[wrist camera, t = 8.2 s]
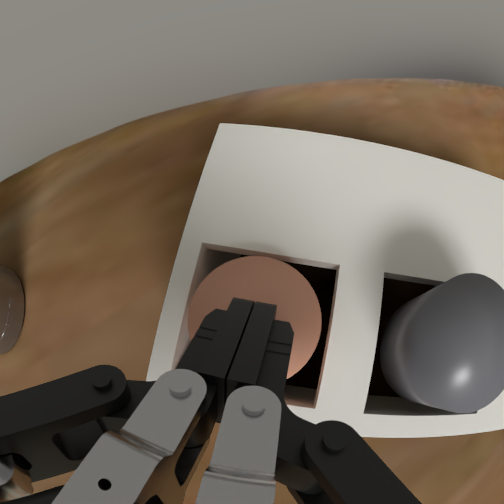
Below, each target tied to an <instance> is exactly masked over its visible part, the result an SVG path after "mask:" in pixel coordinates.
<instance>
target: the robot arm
mask: <svg viewBox="0 0 504 504" xmlns="http://www.w3.org/2000/svg"><path fill="white" fill-rule="evenodd" d="M276 311H277V305H275V304H269V303H263V302H258V301H256V302H255V301H252V300H246V299H241V298H235V297H233V299H232V301H231V303H230V305H229V307H228V309H227V311H226V310H221V309H214V310H213V311H212V312H210V313H209V314H207V315H206V316H205V317H204V319H203V321H202V323H201V324H200V326H199V329H198V330H197V331H196V333H195V336H194V337H193V339H192V340H191V342H190V344H189V346H188V347H187V349H186V351H185V353H184V355H183V356H182V358H181V360H180V362H179V364H178V365H177V367H176V369H174V370H170V371H167V372H165V373H164V374H162V375H161V376H160V377H159V378H158V379H157V380H156V381H132V380H126V378H125V375H124V374H123V372H122V371H121V370H120V369H118V368H116V367H114V366H111V365H98V366H95V367H92V368H89V369H86V370H83V371H80V372H77V373H74V374H71V375H68V376H65V377H62V378H59V379H56V380H53V381H50V382H47V383H44V384H41V385H38V386H34V387H31V388H28V389H25V390H21V391H18V392H15V393H11V394H8V395H5V396H1V397H0V504H183V501H184V496H185V491H186V489H187V486H188V484H189V482H190V480H191V478H192V476H193V474H194V472H195V470H196V468H197V466H198V464H199V462H200V460H201V458H202V456H203V454H204V452H205V450H206V448H207V446H208V444H209V441H210V435H211V433H212V430H213V427H214V425H215V422H217V423H221V424H220V428H219V432H218V436H217V439H216V443H215V447H214V451H213V455H212V459H211V462H210V465H209V467H208V468H207V469H206V471H205V473H204V475H203V478H202V482H201V485H200V489H199V492H198V496H197V500H196V503H195V504H273V503H274V496H275V485H276V481H278V482H280V483H282V484H284V485H286V486H287V488H288V490H289V491H290V493H291V494H292V496H293V497H294V499H295V500H296V502H297V503H298V504H422V503H421V502H420V501H419V500H418V499H417V498H416V497H415V496H414V495H413V494H412V493H411V492H410V491H409V490H408V489H407V487H406V486H405V485H404V484H403V483H402V482H401V481H400V480H399V479H398V478H397V477H396V475H395V474H394V473H393V472H392V471H391V470H390V469H389V468H388V467H387V466H386V464H385V463H384V462H383V461H382V460H381V459H380V458H379V457H378V456H377V454H376V453H375V452H374V451H373V450H372V449H371V448H370V446H369V445H368V444H367V443H366V442H365V441H364V440H363V439H362V437H361V436H360V435H359V434H358V433H357V432H356V431H355V430H354V429H353V428H352V427H351V426H350V425H348V424H346V423H344V422H341V421H336V420H328V421H322V422H320V423H317V424H313V423H311V422H309V421H307V420H304V419H302V418H300V417H298V416H297V415H295V414H294V413H293V412H292V411H291V410H290V409H289V408H288V407H287V405H286V403H285V400H284V390H285V384H286V379H287V373H288V367H289V362H290V356H291V350H292V344H293V338H294V331H293V329H292V327H291V324H290V322H286V321H280V320H275V317H276ZM23 318H24V293H23V288H22V285H21V282H20V280H19V278H18V276H17V275H16V274H15V273H14V272H13V271H12V270H10V269H7V268H5V267H3V266H1V265H0V354H4V353H6V352H8V351H9V350H10V349H11V348H12V347H13V346H14V344H15V343H16V341H17V339H18V337H19V334H20V331H21V328H22V324H23ZM73 470H76V471H75V472H74V473H73V475H72V476H71V477H70V479H69V480H68V482H67V483H66V484H65V485H62V486H58V487H55V488H52V489H49V490H45V491H42V492H39V493H35V494H33V487H32V485H31V483H32V482H36V481H39V480H43V479H47V478H50V477H54V476H57V475H61V474H64V473H67V472H70V471H73ZM24 496H25V497H24Z"/></svg>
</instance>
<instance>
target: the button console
mask: <svg viewBox="0 0 504 504" xmlns="http://www.w3.org/2000/svg"><path fill="white" fill-rule="evenodd" d="M241 254H242V255H248V256H264V257H270V258H274V259H277V260H280V261H285V262H291V263H297V264H303V265H309V266H315V267H321V268H328V269H334V270H337V271H336V279H335V287H334V294H333V301H332V308H331V314H330V321H329V327H328V333H327V339H326V345H325V350H324V356H323V361H322V366H321V371H320V377H319V381H318V386H317V389H310V388H303V387H297V386H291V385H285V390H284V400H285V403H286V405H287V407H288V408H289V409H290V410H291V411H292V412H293V413H294V414H295V415H297V416H298V417H300V418H302V419H304V420H307V421H309V422H311V423H313V424H317V423H320V422H322V421H328V420H336V421H341V422H344V423H346V424H348V425H350V426H351V427H352V428H353V429H354V430H355V431H356V432H357V433H358V434H359V435H360V436H361V437H386V438H413V437H438V436H452V435H463V434H472V433H480V432H487V431H494V430H500V429H504V390H503V391H502V392H501V393H500V395H499V396H498V397H497V398H496V399H495V400H494V401H493V402H491V403H490V404H489V405H487V406H486V407H484V408H482V409H480V410H478V411H475V412H471V413H455V412H451V411H447V410H443V409H439V408H435V407H431V406H427V405H423V404H420V403H416V402H412V401H409V400H406V399H404V398H402V397H388V396H373V395H367V394H368V390H369V384H370V379H371V374H372V368H373V362H374V356H375V350H376V343H377V336H378V329H379V321H380V312H381V303H382V293H383V281H384V278H390V279H396V280H402V281H408V282H415V283H421V284H427V285H433V286H439V285H440V284H442V283H444V282H446V281H448V280H449V279H451V278H453V277H455V276H458V275H461V274H465V273H478V274H482V275H485V276H487V277H489V278H491V279H492V280H494V281H495V282H497V283H498V284H499V285H500V286H501V287H502V288H503V289H504V180H502V179H499V178H496V177H493V176H491V175H488V174H485V173H482V172H479V171H476V170H473V169H470V168H467V167H464V166H461V165H458V164H455V163H452V162H448V161H445V160H441V159H438V158H434V157H431V156H427V155H423V154H420V153H416V152H412V151H408V150H404V149H400V148H395V147H391V146H387V145H382V144H377V143H373V142H368V141H363V140H357V139H352V138H347V137H341V136H335V135H329V134H323V133H316V132H309V131H301V130H294V129H285V128H276V127H266V126H255V125H243V124H227V123H220V125H219V127H218V130H217V133H216V135H215V138H214V141H213V144H212V146H211V149H210V152H209V155H208V158H207V161H206V164H205V166H204V169H203V172H202V175H201V178H200V181H199V184H198V187H197V190H196V193H195V197H194V200H193V203H192V206H191V209H190V212H189V216H188V219H187V222H186V225H185V229H184V232H183V235H182V239H181V242H180V246H179V249H178V252H177V256H176V259H175V263H174V267H173V270H172V274H171V278H170V281H169V285H168V289H167V293H166V297H165V300H164V304H163V308H162V312H161V316H160V320H159V325H158V329H157V333H156V337H155V342H154V346H153V351H152V355H151V360H150V364H149V369H148V374H147V379H146V381H156V380H157V379H158V378H159V377H160V376H161V375H162V374H164V373H165V372H167V371H170V370H174V369H176V367H177V365H178V364H179V362H180V360H181V358H182V356H183V355H184V353H185V351H186V349H187V347H188V346H189V344H190V338H189V333H188V312H189V307H190V303H191V300H192V298H193V296H194V293H195V291H196V290H197V288H198V286H199V285H200V283H201V282H202V281H203V280H204V279H205V277H206V276H208V275H209V274H210V273H211V272H212V271H213V270H215V269H216V268H217V267H219V266H221V265H222V264H224V263H226V262H228V261H231V260H233V259H237V258H240V255H241Z"/></svg>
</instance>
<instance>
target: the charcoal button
mask: <svg viewBox="0 0 504 504" xmlns="http://www.w3.org/2000/svg"><path fill="white" fill-rule="evenodd" d="M380 364H381V369H382V373H383V375H384V378H385V380H386V381H387V383H388V385H389V386H390V387H391V389H392V390H393V391H394V392H395V393H396V394H397V395H399V396H400V397H402V398H404V399H406V400H409V401H412V402H416V403H420V404H423V405H427V406H431V407H435V408H439V409H443V410H447V411H451V412H455V413H471V412H475V411H478V410H480V409H482V408H484V407H486V406H487V405H489V404H490V403H491V402H493V401H494V400H495V399H496V398H497V397H498V396H499V395H500V393H501V392H502V391H503V390H504V289H503V288H502V287H501V286H500V285H499V284H498V283H497V282H495V281H494V280H492V279H491V278H489V277H487V276H485V275H482V274H478V273H465V274H461V275H458V276H455V277H453V278H451V279H449V280H448V281H446V282H444V283H442V284H440V285H439V286H437V287H435V288H433V289H431V290H429V291H428V292H426V293H424V294H422V295H420V296H418V297H416V298H414V299H412V300H410V301H408V302H407V303H405V304H404V305H402V306H401V307H400V308H399V309H398V310H397V311H396V312H395V313H394V314H393V315H392V317H391V318H390V320H389V321H388V323H387V325H386V327H385V329H384V332H383V335H382V338H381V343H380Z"/></svg>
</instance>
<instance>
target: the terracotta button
mask: <svg viewBox="0 0 504 504" xmlns="http://www.w3.org/2000/svg"><path fill="white" fill-rule="evenodd" d="M233 297H235V298H241V299H246V300H252V301H255V302H256V301H258V302H263V303H269V304H275V305H277V311H276V317H275V320H280V321H286V322H290V324H291V327H292V329H293V331H294V338H293V344H292V350H291V356H290V362H289V367H288V373H287V379H288V378H290V377H291V376H293V375H294V374H295V373H297V372H298V371H299V370H300V369H301V368H302V367H303V366H304V365H305V364H306V363H307V362H308V360H309V359H310V358H311V356H312V354H313V352H314V351H315V349H316V346H317V344H318V341H319V337H320V333H321V324H322V321H321V310H320V305H319V302H318V299H317V296H316V294H315V292H314V290H313V288H312V287H311V285H310V284H309V282H308V281H307V280H306V279H305V277H304V276H303V275H302V274H301V273H299V272H298V271H297V270H296V269H294V268H293V267H292V266H290V265H288V264H286V263H284V262H282V261H280V260H277V259H274V258H270V257H264V256H247V257H241V258H237V259H233V260H231V261H228V262H226V263H224V264H222V265H221V266H219V267H217V268H216V269H215V270H213V271H212V272H211V273H210V274H209V275H208V276H206V277H205V279H204V280H203V281H202V282H201V283H200V285H199V286H198V288H197V290H196V291H195V293H194V296H193V298H192V300H191V303H190V307H189V312H188V333H189V338H190V342H191V340H192V339H193V337H194V336H195V333H196V331H197V330H198V329H199V326H200V324H201V323H202V321H203V319H204V317H205V316H206V315H207V314H209V313H210V312H212V311H213V310H214V309H221V310H226V311H227V309H228V307H229V305H230V303H231V301H232V299H233Z"/></svg>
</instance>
